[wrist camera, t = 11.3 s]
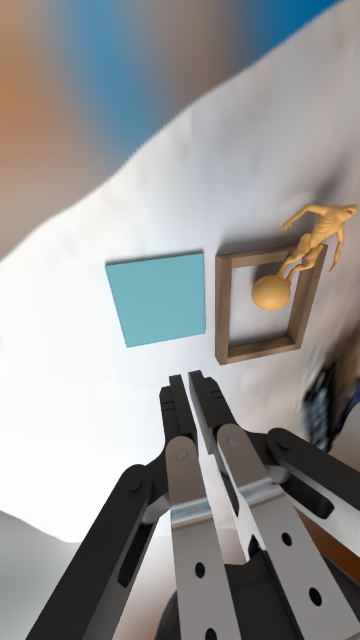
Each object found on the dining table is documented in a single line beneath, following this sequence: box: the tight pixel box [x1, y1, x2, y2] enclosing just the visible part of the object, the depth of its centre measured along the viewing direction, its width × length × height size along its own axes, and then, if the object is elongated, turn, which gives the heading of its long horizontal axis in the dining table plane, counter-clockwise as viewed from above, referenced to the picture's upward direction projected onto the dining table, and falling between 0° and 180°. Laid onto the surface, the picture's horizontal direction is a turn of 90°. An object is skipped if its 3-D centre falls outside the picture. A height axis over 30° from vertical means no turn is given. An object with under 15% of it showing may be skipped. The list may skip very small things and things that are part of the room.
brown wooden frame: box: [215, 244, 328, 365], centre depth 25 cm, size 12×14×2 cm
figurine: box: [252, 204, 357, 311], centre depth 21 cm, size 8×6×12 cm
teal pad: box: [105, 253, 205, 348], centre depth 23 cm, size 10×10×1 cm
